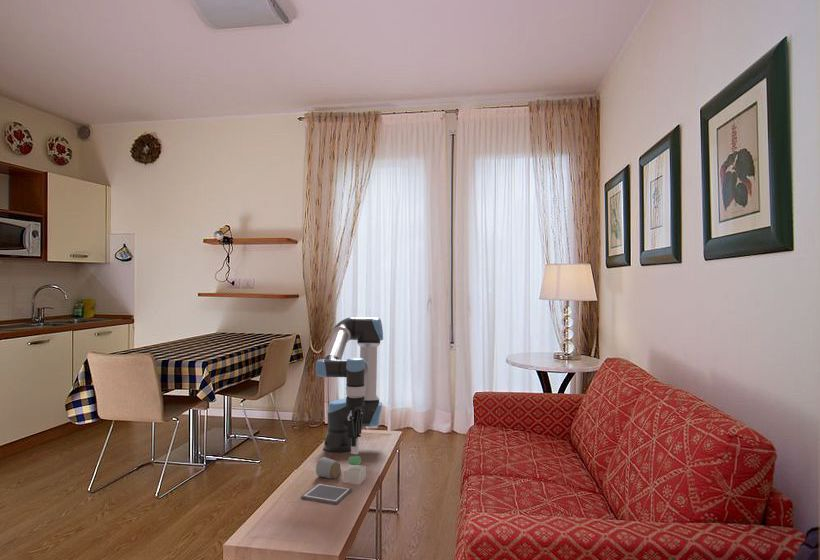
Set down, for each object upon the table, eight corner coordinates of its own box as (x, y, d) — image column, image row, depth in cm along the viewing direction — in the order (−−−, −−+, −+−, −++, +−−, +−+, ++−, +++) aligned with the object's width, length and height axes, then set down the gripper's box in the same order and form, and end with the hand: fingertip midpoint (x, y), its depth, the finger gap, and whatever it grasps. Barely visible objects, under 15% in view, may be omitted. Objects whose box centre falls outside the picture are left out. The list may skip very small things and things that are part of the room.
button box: (350, 476, 204) (350, 464, 204) (365, 478, 202) (366, 466, 202) (343, 482, 197) (343, 470, 197) (358, 484, 195) (358, 472, 195)
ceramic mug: (331, 482, 198) (331, 463, 198) (315, 478, 201) (315, 459, 201) (345, 473, 207) (346, 455, 207) (330, 470, 211) (330, 452, 211)
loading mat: (318, 485, 194) (318, 483, 194) (352, 490, 189) (352, 488, 189) (300, 498, 182) (301, 496, 182) (336, 504, 177) (336, 502, 177)
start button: (351, 460, 203) (351, 455, 203) (362, 461, 201) (362, 456, 201) (346, 464, 198) (346, 459, 198) (357, 465, 196) (357, 460, 196)
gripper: (353, 392, 207) (353, 447, 207) (339, 398, 195) (339, 457, 195) (369, 393, 205) (369, 449, 204) (356, 399, 193) (356, 459, 192)
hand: (354, 453), depth 200 cm, fingers closed
